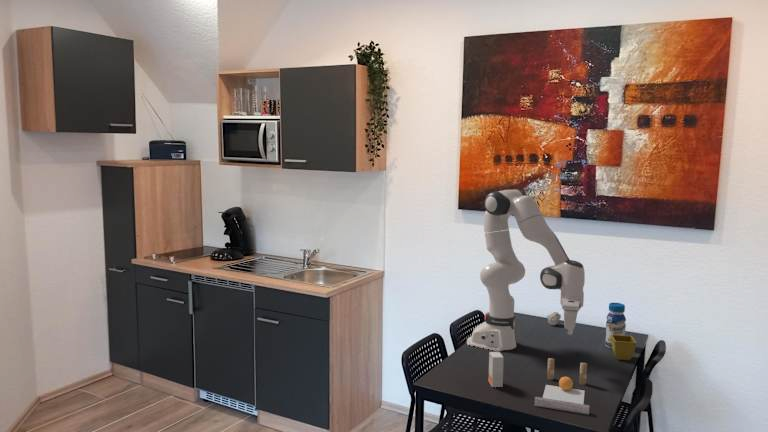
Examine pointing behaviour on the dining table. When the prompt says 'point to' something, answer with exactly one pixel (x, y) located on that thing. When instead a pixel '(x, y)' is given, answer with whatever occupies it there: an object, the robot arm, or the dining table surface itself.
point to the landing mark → (564, 394)
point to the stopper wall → (562, 405)
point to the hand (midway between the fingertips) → (570, 334)
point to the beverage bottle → (615, 322)
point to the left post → (550, 369)
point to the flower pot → (623, 346)
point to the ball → (565, 383)
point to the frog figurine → (553, 318)
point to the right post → (583, 373)
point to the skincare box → (496, 369)
